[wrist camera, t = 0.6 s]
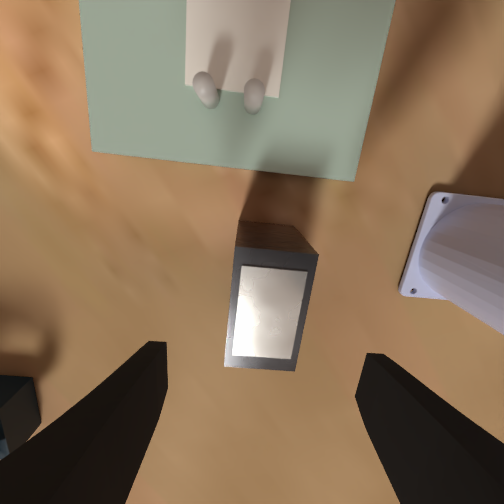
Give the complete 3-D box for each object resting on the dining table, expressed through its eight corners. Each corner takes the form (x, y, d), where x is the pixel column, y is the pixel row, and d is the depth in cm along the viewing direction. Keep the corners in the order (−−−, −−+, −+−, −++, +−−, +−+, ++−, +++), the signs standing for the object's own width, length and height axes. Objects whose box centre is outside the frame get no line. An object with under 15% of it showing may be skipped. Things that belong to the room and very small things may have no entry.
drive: (293, 225, 18) (319, 255, 12) (279, 309, 20) (295, 372, 14) (238, 220, 18) (234, 247, 11) (230, 305, 20) (223, 367, 13)
